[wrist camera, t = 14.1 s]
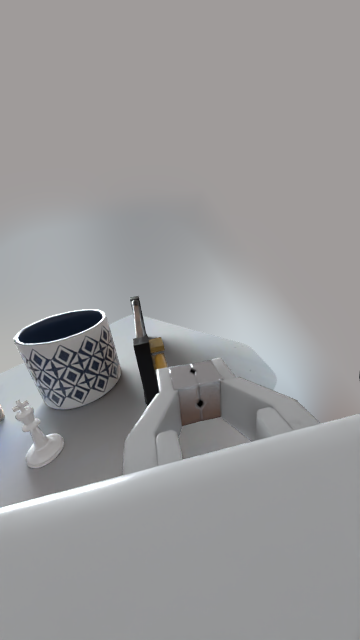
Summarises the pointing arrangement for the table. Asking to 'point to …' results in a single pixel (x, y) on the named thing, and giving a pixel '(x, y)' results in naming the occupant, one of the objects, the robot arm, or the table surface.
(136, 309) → the gate
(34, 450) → the chess piece
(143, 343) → the gate frame
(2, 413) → the decorative jar
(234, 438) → the table surface
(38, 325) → the planter
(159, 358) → the bolt
